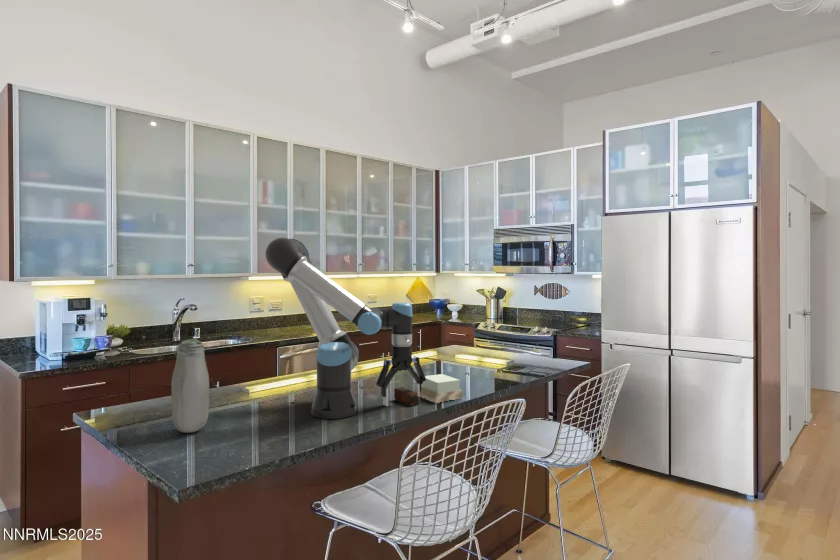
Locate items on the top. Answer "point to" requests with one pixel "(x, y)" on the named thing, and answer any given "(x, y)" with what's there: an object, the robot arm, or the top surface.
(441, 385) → the top block
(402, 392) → the brick
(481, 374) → the top surface
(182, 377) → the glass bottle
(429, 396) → the base block
